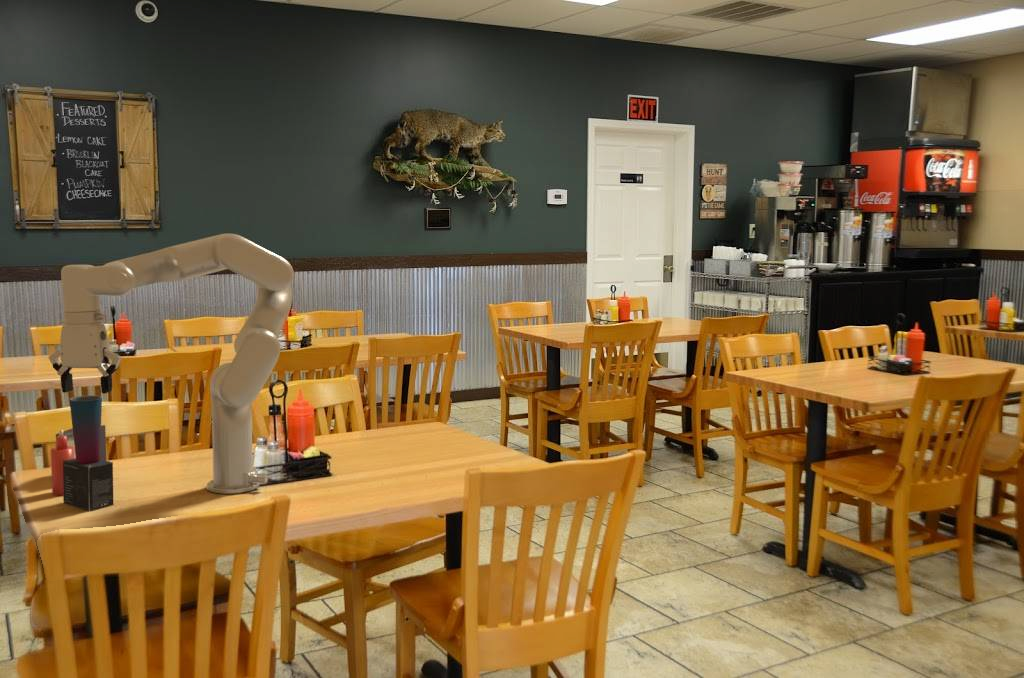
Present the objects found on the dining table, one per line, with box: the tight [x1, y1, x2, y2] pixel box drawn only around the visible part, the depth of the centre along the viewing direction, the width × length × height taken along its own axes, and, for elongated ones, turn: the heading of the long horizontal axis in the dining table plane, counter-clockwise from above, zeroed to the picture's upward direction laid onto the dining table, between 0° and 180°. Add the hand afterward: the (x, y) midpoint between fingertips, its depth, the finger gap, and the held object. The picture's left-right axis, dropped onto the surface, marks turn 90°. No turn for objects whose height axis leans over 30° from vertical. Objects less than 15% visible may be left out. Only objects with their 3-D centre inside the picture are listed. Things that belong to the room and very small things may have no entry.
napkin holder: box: [55, 424, 108, 461], centre depth 229 cm, size 6×12×12 cm, turn 173°
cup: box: [69, 394, 103, 464], centre depth 206 cm, size 7×7×15 cm
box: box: [62, 458, 114, 512], centre depth 207 cm, size 11×7×10 cm, turn 58°
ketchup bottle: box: [50, 429, 74, 497], centre depth 215 cm, size 5×5×16 cm
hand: (87, 391), depth 205 cm, fingers open, 9 cm apart
